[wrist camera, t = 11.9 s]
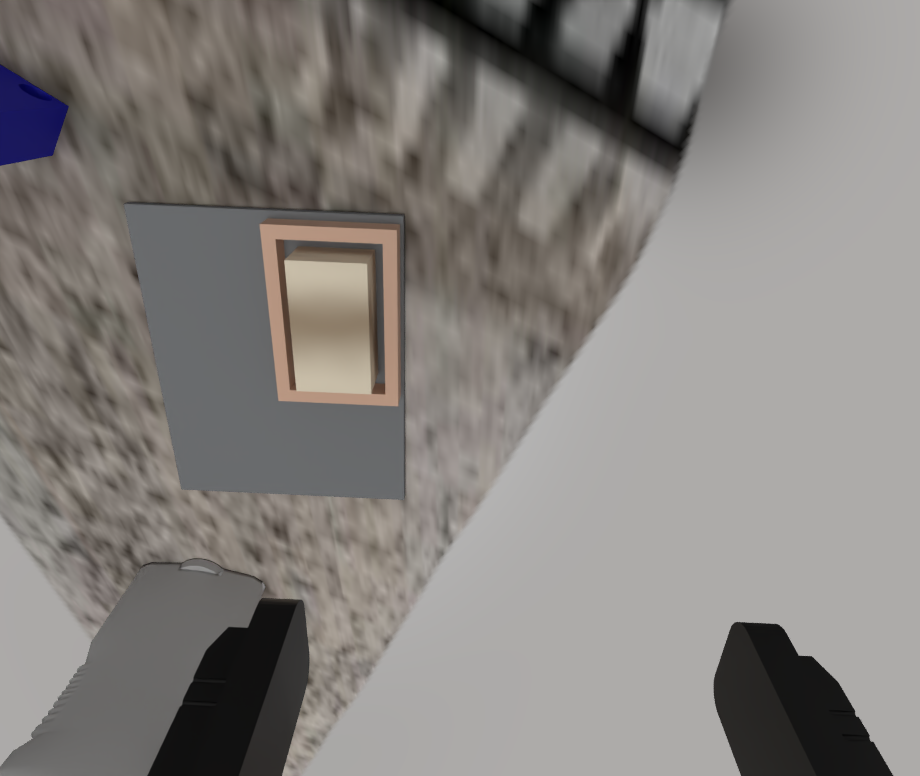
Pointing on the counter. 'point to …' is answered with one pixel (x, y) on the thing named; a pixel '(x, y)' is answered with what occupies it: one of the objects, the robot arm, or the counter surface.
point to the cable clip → (27, 119)
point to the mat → (253, 361)
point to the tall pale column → (137, 672)
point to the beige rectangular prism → (333, 319)
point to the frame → (279, 309)
